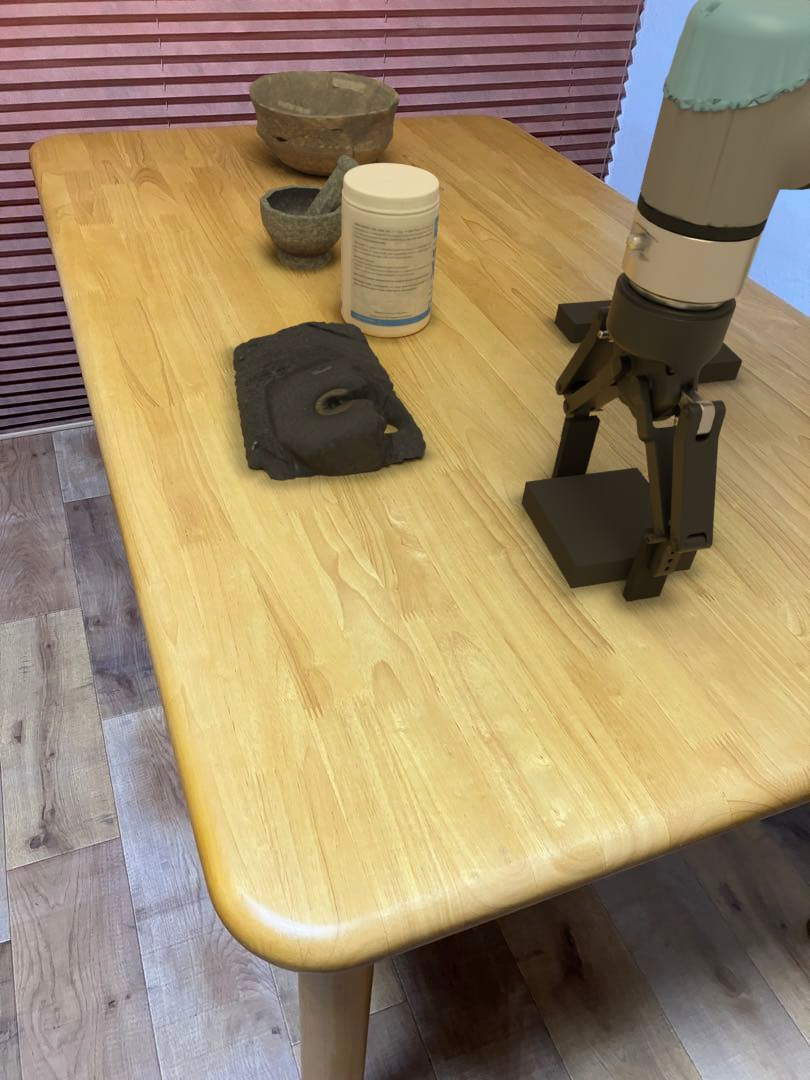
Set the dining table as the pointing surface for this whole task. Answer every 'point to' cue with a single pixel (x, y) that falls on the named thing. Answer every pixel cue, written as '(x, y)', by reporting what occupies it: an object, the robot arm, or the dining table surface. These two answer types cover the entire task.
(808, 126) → the robot arm
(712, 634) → the dining table surface
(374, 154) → the bowl
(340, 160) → the mortar and pestle
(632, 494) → the small pad
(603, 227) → the dining table surface
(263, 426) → the dark slate chunk
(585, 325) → the base pad
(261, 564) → the dining table surface
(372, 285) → the supplement tub
